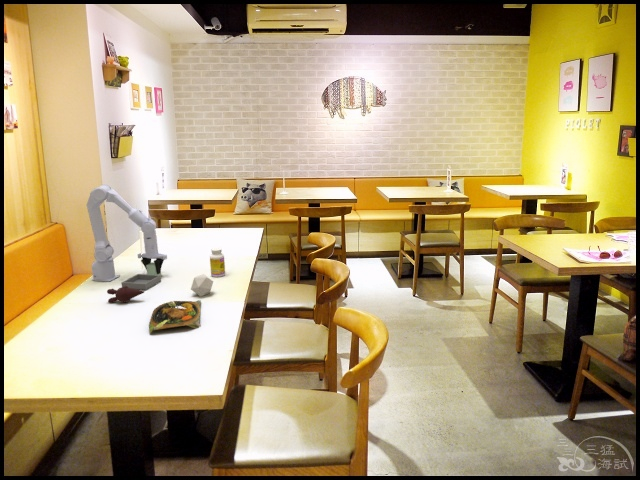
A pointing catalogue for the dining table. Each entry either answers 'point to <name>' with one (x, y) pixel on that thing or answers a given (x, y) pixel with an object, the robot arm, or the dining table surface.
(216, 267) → the supplement bottle
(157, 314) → the prepared meal
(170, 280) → the dining table surface
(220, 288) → the dining table surface
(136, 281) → the gray tray
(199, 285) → the die
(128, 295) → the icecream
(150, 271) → the mint block
